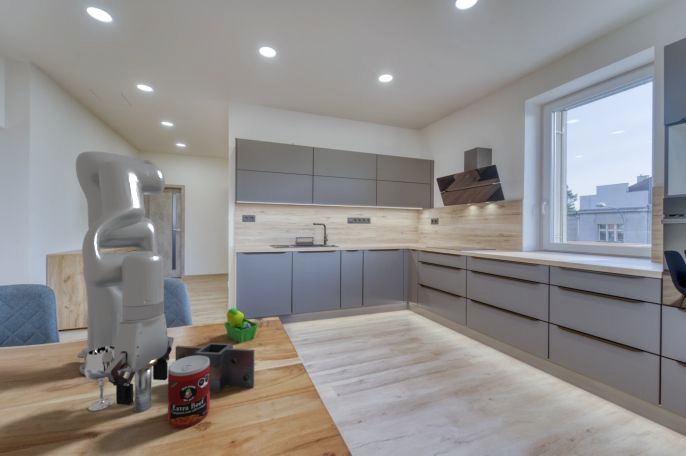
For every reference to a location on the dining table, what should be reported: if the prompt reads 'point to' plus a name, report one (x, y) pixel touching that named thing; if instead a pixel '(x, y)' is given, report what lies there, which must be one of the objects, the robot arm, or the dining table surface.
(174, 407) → the canned food
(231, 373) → the hinge leaf
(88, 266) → the robot arm
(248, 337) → the fruit basket
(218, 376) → the hinge leaf
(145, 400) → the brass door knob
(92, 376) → the wineglass
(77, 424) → the dining table surface
